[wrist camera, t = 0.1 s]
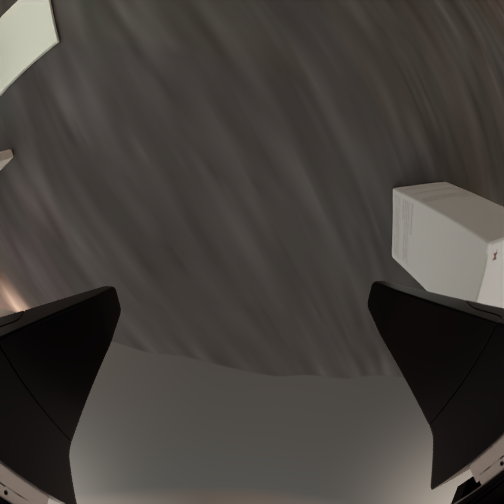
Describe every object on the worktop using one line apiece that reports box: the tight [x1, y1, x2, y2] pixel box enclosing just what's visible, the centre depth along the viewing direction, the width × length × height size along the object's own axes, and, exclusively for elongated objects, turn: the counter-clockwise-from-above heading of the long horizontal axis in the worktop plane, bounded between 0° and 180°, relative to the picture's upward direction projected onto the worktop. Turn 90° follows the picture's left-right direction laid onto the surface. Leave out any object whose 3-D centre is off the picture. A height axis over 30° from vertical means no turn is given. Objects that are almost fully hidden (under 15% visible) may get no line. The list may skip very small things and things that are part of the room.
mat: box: [0, 0, 60, 96], centre depth 12 cm, size 10×11×1 cm
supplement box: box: [392, 182, 504, 308], centre depth 19 cm, size 7×7×13 cm
